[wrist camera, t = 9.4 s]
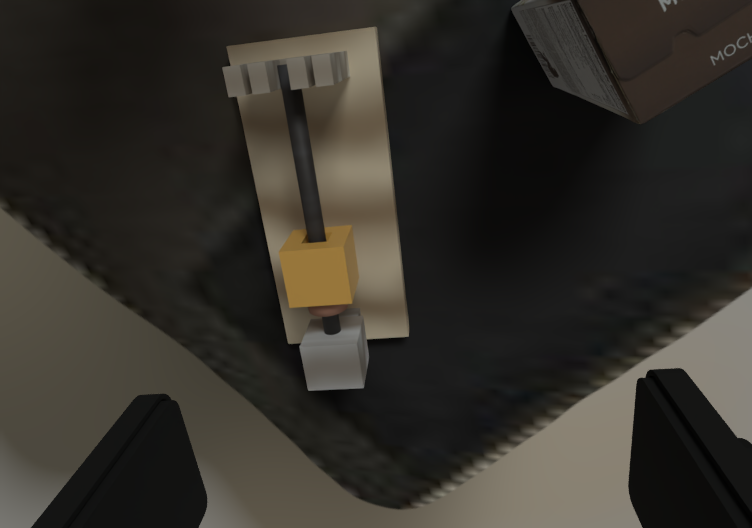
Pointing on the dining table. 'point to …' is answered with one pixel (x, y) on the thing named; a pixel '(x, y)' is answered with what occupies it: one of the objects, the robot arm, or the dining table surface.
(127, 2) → the dining table surface
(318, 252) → the sleeve
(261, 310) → the dining table surface
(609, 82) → the coffee box
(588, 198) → the dining table surface
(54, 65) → the dining table surface
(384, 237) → the cord rig
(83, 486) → the robot arm
